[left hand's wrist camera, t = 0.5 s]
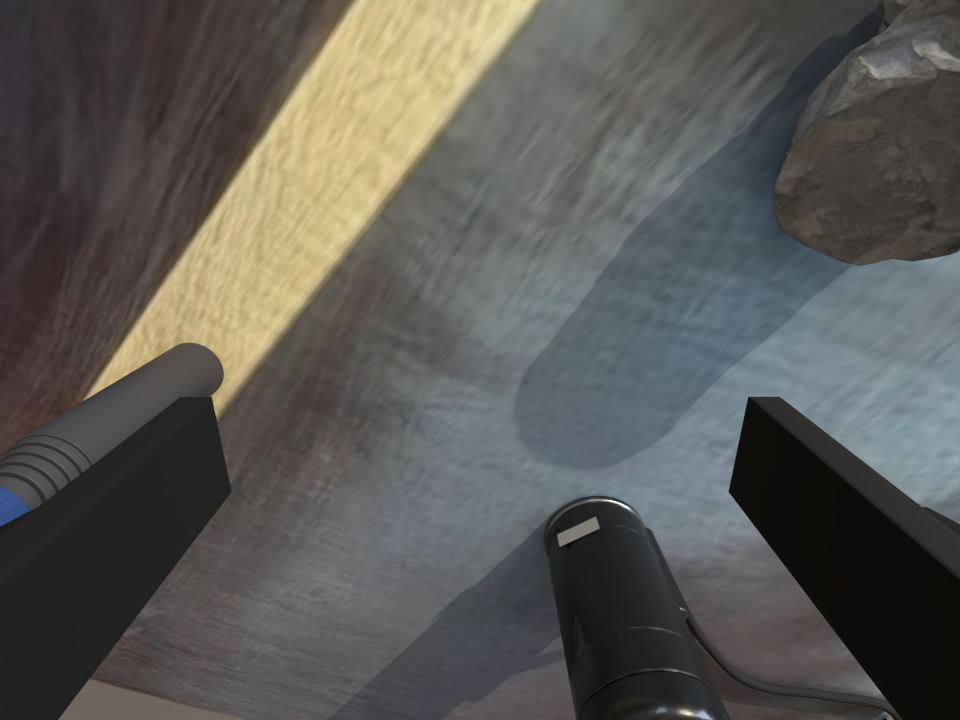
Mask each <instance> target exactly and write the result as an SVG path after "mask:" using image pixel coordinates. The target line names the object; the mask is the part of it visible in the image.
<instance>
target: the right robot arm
mask: <svg viewBox="0 0 960 720" xmlns="http://www.w3.org/2000/svg"><path fill="white" fill-rule="evenodd" d="M544 543H545V549H546V553H547V556H548V560H549V566H550V572H551V579H552V584H553V590H554V596H555V601H556V607H557V613H558V619H559V624H560V630H561V636H562V641H563V647H564V653H565V659H566V664H567V670H568V676H569V681H570V687H571V692H572V698H573V704H574V709H575V715H576V720H730V718H729V715H728V713H727V711H726V709H725V707H724V704H723V702H722V700H721V698H720V696H719V693H718V691H717V689H716V687H715V685H714V682H713V680H712V678H711V676H710V674H709V671H708V669H707V667H706V665H705V662H704V660H703V658H702V656H701V654H700V652H699V650H698V647H697V645H696V643H695V641H694V639H693V636H692V634H691V632H690V630H689V628H690V629H691V631H692V632H693V634H694V636H695V637H696V639H697V640H698V641H699V643H700V644H701V645H702V646H703V648H704V649H705V650H706V651H707V652H708V653H709V654H710V656H711V657H712V658H713V659H714V660H715V661H716V662H717V664H718V665H719V666H720V667H721V668H722V669H723V670H724V671H725V672H726V673H727V674H729V675H730V676H731V677H733V678H734V679H735V680H737V681H739V682H740V683H742V684H744V685H746V686H748V687H751V688H753V689H756V690H759V691H763V692H767V693H772V694H778V695H786V696H797V697H808V698H816V699H822V700H828V701H834V702H841V703H851V704H860V705H867V706H872V707H875V708H878V709H881V710H883V711H885V712H887V713H888V714H890V715H891V716H892V718H893V719H894V720H902V719H901V718H900V716H899V715H898V714H897V712H896V711H895V710H894V709H893V707H892V706H891V705H889V704H888V703H886V702H884V701H882V700H879V699H876V698H872V697H867V696H861V695H853V694H843V693H834V692H828V691H822V690H817V689H810V688H800V687H789V686H779V685H772V684H768V683H763V682H760V681H757V680H755V679H752V678H750V677H748V676H746V675H744V674H742V673H741V672H739V671H738V670H736V669H735V668H734V667H732V666H731V665H730V664H729V663H728V662H727V661H726V660H725V659H724V658H723V657H722V656H721V655H720V653H719V652H718V651H717V650H716V649H715V648H714V646H713V645H712V644H711V643H710V642H709V641H708V639H707V638H706V637H705V635H704V634H703V632H702V631H701V629H700V627H699V626H698V624H697V622H696V621H695V619H694V617H693V615H692V613H691V611H690V610H689V608H688V606H687V604H686V603H685V601H684V599H683V597H682V594H681V592H680V590H679V588H678V586H677V584H676V582H675V580H674V577H673V575H672V573H671V571H670V569H669V567H668V565H667V563H666V560H665V558H664V556H663V554H662V552H661V550H660V548H659V545H658V543H657V541H656V539H655V537H654V535H653V533H652V531H651V530H650V529H647V528H645V527H644V524H643V522H642V520H641V518H640V516H639V515H638V513H637V512H636V511H635V510H634V509H633V508H632V507H631V506H630V505H628V504H627V503H625V502H623V501H621V500H618V499H616V498H612V497H607V496H590V497H584V498H580V499H577V500H575V501H572V502H570V503H568V504H567V505H565V506H564V507H562V508H561V509H560V510H559V511H557V512H556V513H555V515H554V516H553V517H552V518H551V520H550V521H549V523H548V525H547V528H546V531H545V536H544ZM685 620H686V621H685ZM686 622H687V623H686ZM687 624H688V625H687ZM688 626H689V627H688ZM886 720H887V719H886Z"/></svg>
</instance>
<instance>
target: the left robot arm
mask: <svg viewBox="0 0 960 720" xmlns="http://www.w3.org/2000/svg"><path fill="white" fill-rule="evenodd" d="M230 493H231V488H230V483H229V478H228V473H227V469H226V464H225V459H224V454H223V449H222V445H221V440H220V435H219V430H218V425H217V420H216V416H215V411H214V406H213V401H212V397H180V398H178V399H177V400H176V401H174V402H173V403H172V404H171V405H169V406H168V407H167V408H165V409H164V410H163V411H162V412H160V413H159V414H158V415H156V416H155V417H154V418H152V419H151V420H150V421H149V422H147V423H146V424H145V425H143V426H142V427H141V428H140V429H138V430H137V431H136V432H134V433H133V434H132V435H131V436H129V437H128V438H127V439H125V440H124V441H123V442H121V443H120V444H119V445H118V446H116V447H115V448H114V449H112V450H111V451H110V452H109V453H107V454H106V455H105V456H103V457H102V458H101V459H100V460H98V461H97V462H96V463H94V464H93V465H92V466H90V467H89V468H88V469H87V470H85V471H84V472H83V473H81V474H80V475H79V476H78V477H76V478H75V479H74V480H72V481H71V482H70V483H69V484H67V485H66V486H65V487H63V488H62V489H61V490H60V491H58V492H57V493H56V494H54V495H53V496H52V497H50V498H49V499H48V500H47V501H45V502H44V503H43V504H41V505H40V506H39V507H38V508H36V509H33V510H31V511H29V512H27V513H25V514H23V515H21V516H20V517H18V518H16V519H14V520H12V521H10V522H8V523H6V524H4V525H2V526H0V720H58V719H59V718H60V716H61V715H62V714H63V712H64V711H65V710H66V708H67V707H68V706H69V704H70V703H71V702H72V701H73V699H74V698H75V697H76V695H77V694H78V693H79V691H80V690H81V689H82V687H83V686H84V685H85V684H86V682H87V681H88V680H89V678H90V677H91V676H92V674H93V673H94V672H95V670H96V669H97V668H98V666H99V665H100V664H101V662H102V661H103V660H104V659H105V657H106V656H107V655H108V653H109V652H110V651H111V649H112V648H113V647H114V645H115V644H116V643H117V641H118V640H119V639H120V638H121V636H122V635H123V634H124V632H125V631H126V630H127V628H128V627H129V626H130V624H131V623H132V622H133V620H134V619H135V618H136V616H137V615H138V614H139V613H140V611H141V610H142V609H143V607H144V606H145V605H146V603H147V602H148V601H149V599H150V598H151V597H152V595H153V594H154V593H155V591H156V590H157V589H158V588H159V586H160V585H161V584H162V582H163V581H164V580H165V578H166V577H167V576H168V574H169V573H170V572H171V570H172V569H173V568H174V567H175V565H176V564H177V563H178V561H179V560H180V559H181V557H182V556H183V555H184V553H185V552H186V551H187V549H188V548H189V547H190V545H191V544H192V543H193V542H194V540H195V539H196V538H197V536H198V535H199V534H200V532H201V531H202V530H203V528H204V527H205V526H206V524H207V523H208V522H209V520H210V519H211V518H212V517H213V515H214V514H215V513H216V511H217V510H218V509H219V507H220V506H221V505H222V503H223V502H224V501H225V499H226V498H227V497H228V496H229V494H230ZM729 493H730V494H731V496H732V497H733V498H734V499H735V501H736V502H737V503H738V505H739V506H740V507H741V509H742V510H743V511H744V513H745V514H746V515H747V517H748V518H749V519H750V520H751V522H752V523H753V524H754V526H755V527H756V528H757V530H758V531H759V532H760V534H761V535H762V536H763V538H764V539H765V540H766V542H767V543H768V544H769V545H770V547H771V548H772V549H773V551H774V552H775V553H776V555H777V556H778V557H779V559H780V560H781V561H782V563H783V564H784V565H785V567H786V568H787V569H788V570H789V572H790V573H791V574H792V576H793V577H794V578H795V580H796V581H797V582H798V584H799V585H800V586H801V588H802V589H803V590H804V591H805V593H806V594H807V595H808V597H809V598H810V599H811V601H812V602H813V603H814V605H815V606H816V607H817V609H818V610H819V611H820V613H821V614H822V615H823V616H824V618H825V619H826V620H827V622H828V623H829V624H830V626H831V627H832V628H833V630H834V631H835V632H836V634H837V635H838V636H839V638H840V639H841V640H842V641H843V643H844V644H845V645H846V647H847V648H848V649H849V651H850V652H851V653H852V655H853V656H854V657H855V659H856V660H857V661H858V662H859V664H860V665H861V666H862V668H863V669H864V670H865V672H866V673H867V674H868V676H869V677H870V678H871V680H872V681H873V682H874V684H875V685H876V686H877V687H878V689H879V690H880V691H881V693H882V694H883V695H884V697H885V698H886V699H887V701H888V702H889V703H890V705H891V706H892V707H893V709H894V710H895V711H896V712H897V714H898V715H899V716H900V718H901V719H902V720H960V524H958V523H956V522H954V521H953V520H951V519H949V518H947V517H945V516H943V515H941V514H939V513H937V512H935V511H933V510H931V509H929V508H927V507H921V506H920V505H919V504H917V503H916V502H915V501H913V500H912V499H911V498H910V497H908V496H907V495H906V494H904V493H903V492H902V491H900V490H899V489H898V488H897V487H895V486H894V485H893V484H891V483H890V482H889V481H888V480H886V479H885V478H884V477H882V476H881V475H880V474H879V473H877V472H876V471H875V470H873V469H872V468H871V467H869V466H868V465H867V464H866V463H864V462H863V461H862V460H860V459H859V458H858V457H857V456H855V455H854V454H853V453H851V452H850V451H849V450H848V449H846V448H845V447H844V446H842V445H841V444H840V443H839V442H837V441H836V440H835V439H833V438H832V437H831V436H829V435H828V434H827V433H826V432H824V431H823V430H822V429H820V428H819V427H818V426H817V425H815V424H814V423H813V422H811V421H810V420H809V419H808V418H806V417H805V416H804V415H802V414H801V413H800V412H798V411H797V410H796V409H795V408H793V407H792V406H791V405H789V404H788V403H787V402H786V401H784V400H783V399H782V398H780V397H748V401H747V406H746V411H745V416H744V420H743V425H742V430H741V435H740V440H739V444H738V449H737V454H736V459H735V464H734V469H733V473H732V478H731V483H730V488H729Z"/></svg>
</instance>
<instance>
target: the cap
mask: <svg viewBox="0 0 960 720" xmlns="http://www.w3.org/2000/svg"><path fill="white" fill-rule="evenodd" d="M29 511H30V510H29V509H28V507H27V506H26V504H25V503H24V502H23V501H22V500H21V499H20V498H19V497H18V496H16V495H15V494H14V493H12V492H11V491H9V490H7V489H6V488H3V487H1V486H0V526H2V525H4V524H6V523H8V522H10V521H12V520H14V519H16V518H18V517H20V516H21V515H23V514H25V513H27V512H29Z"/></svg>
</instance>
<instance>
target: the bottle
mask: <svg viewBox="0 0 960 720" xmlns="http://www.w3.org/2000/svg"><path fill="white" fill-rule="evenodd" d="M222 381H223V368H222V365H221V362H220V361H219V359H218V358H217V356H216V355H215V354H214V353H213V352H212V351H210V350H209V349H208V348H206V347H204V346H201V345H199V344H194V343H183V344H180V345H177V346H175V347H174V348H172V349H170V350H168V351H167V352H165V353H163V354H162V355H160V356H158V357H157V358H155V359H153V360H152V361H150V362H148V363H147V364H145V365H143V366H142V367H140V368H138V369H137V370H135V371H133V372H132V373H130V374H128V375H127V376H125V377H123V378H122V379H120V380H118V381H116V382H115V383H113V384H111V385H110V386H108V387H106V388H105V389H103V390H101V391H100V392H98V393H96V394H95V395H93V396H91V397H90V398H88V399H86V400H85V401H83V402H81V403H80V404H78V405H76V406H75V407H73V408H71V409H70V410H68V411H66V412H64V413H63V414H61V415H59V416H58V417H56V418H54V419H53V420H51V421H49V422H48V423H46V424H44V425H43V426H41V427H39V428H38V429H36V430H34V431H33V432H31V433H29V434H28V435H26V436H24V437H23V438H21V439H19V440H18V441H17V442H16V443H15V444H14V445H13V446H12V447H10V448H9V449H8V450H7V451H6V453H5V454H4V456H3V457H2V458H1V459H0V486H1V487H3V488H6V489H7V490H9V491H11V492H12V493H14V494H15V495H16V496H18V497H19V498H20V499H21V500H22V501H23V502H24V503H25V504H26V506H27V507H28V509H29V510H30V511H31V510H33V509H36V508H38V507H39V506H40V505H41V504H43V503H44V502H45V501H47V500H48V499H49V498H50V497H52V496H53V495H54V494H56V493H57V492H58V491H60V490H61V489H62V488H63V487H65V486H66V485H67V484H69V483H70V482H71V481H72V480H74V479H75V478H76V477H78V476H79V475H80V474H81V473H83V472H84V471H85V470H87V469H88V468H89V467H90V466H92V465H93V464H94V463H96V462H97V461H98V460H100V459H101V458H102V457H103V456H105V455H106V454H107V453H109V452H110V451H111V450H112V449H114V448H115V447H116V446H118V445H119V444H120V443H121V442H123V441H124V440H125V439H127V438H128V437H129V436H131V435H132V434H133V433H134V432H136V431H137V430H138V429H140V428H141V427H142V426H143V425H145V424H146V423H147V422H149V421H150V420H151V419H152V418H154V417H155V416H156V415H158V414H159V413H160V412H162V411H163V410H164V409H165V408H167V407H168V406H169V405H171V404H172V403H173V402H174V401H176V400H177V399H178V398H180V397H209V396H210V395H211V394H213V393H214V392H215V391H216V390H217V389H218V388H219V387H220V385H221V384H222Z"/></svg>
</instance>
